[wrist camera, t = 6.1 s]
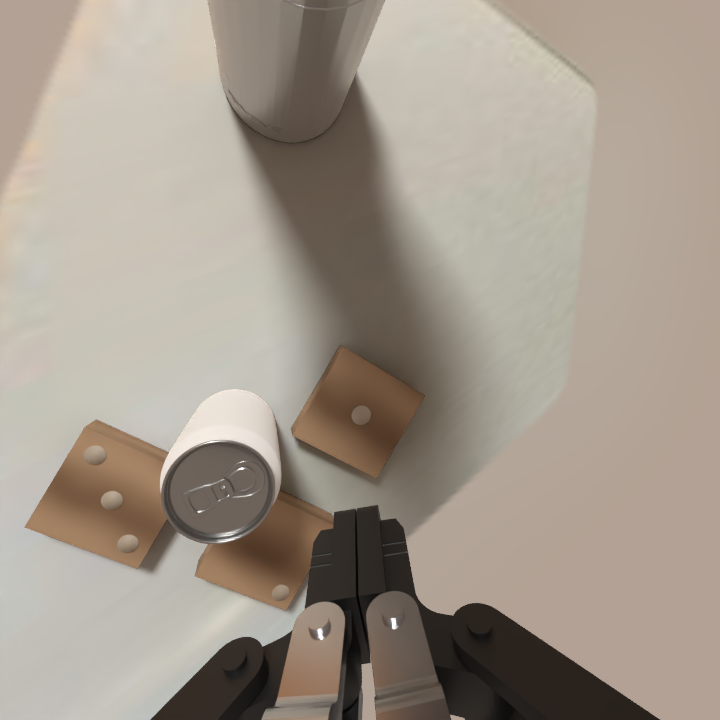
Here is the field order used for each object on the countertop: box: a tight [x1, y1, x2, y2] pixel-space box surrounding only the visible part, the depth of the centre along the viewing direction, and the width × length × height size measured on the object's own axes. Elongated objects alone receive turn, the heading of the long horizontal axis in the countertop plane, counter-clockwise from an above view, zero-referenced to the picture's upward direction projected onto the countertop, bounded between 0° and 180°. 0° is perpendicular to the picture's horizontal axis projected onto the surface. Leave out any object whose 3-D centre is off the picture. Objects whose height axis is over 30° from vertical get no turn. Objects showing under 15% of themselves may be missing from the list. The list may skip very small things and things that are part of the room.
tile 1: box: [291, 346, 425, 478], centre depth 34 cm, size 8×8×2 cm
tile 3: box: [25, 420, 169, 569], centre depth 30 cm, size 8×8×2 cm
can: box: [160, 389, 281, 544], centre depth 27 cm, size 6×6×12 cm
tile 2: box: [195, 490, 334, 610], centre depth 33 cm, size 8×8×2 cm
